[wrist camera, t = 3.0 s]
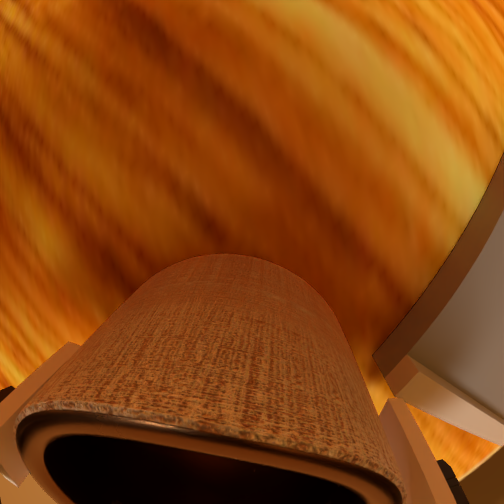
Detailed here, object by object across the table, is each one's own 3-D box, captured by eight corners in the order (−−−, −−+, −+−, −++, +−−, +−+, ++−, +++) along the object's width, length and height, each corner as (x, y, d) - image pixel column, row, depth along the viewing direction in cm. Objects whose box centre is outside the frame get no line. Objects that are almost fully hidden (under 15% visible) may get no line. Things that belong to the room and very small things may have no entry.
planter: (195, 198, 12) (29, 253, 3) (382, 331, 13) (477, 481, 4) (101, 362, 15) (12, 480, 5) (255, 449, 16) (248, 580, 6)
